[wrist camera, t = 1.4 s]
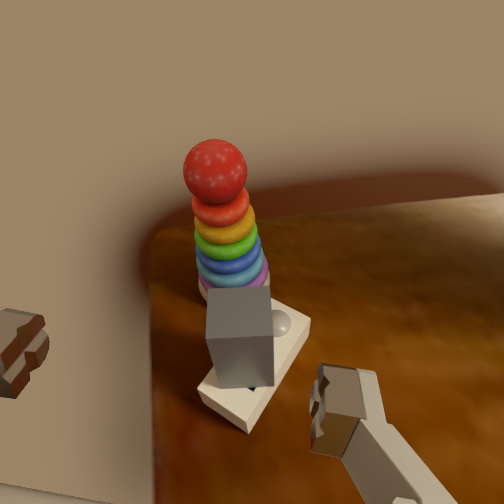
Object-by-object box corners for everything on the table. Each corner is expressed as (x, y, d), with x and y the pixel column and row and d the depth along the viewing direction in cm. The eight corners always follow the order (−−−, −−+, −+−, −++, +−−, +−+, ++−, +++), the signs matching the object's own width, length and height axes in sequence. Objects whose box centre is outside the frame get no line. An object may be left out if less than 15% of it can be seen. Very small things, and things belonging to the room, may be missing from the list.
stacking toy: (197, 264, 45) (159, 121, 31) (262, 252, 46) (256, 108, 32) (203, 321, 40) (162, 183, 26) (277, 307, 41) (276, 165, 26)
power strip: (266, 313, 40) (265, 294, 38) (308, 335, 38) (311, 317, 36) (203, 402, 35) (196, 387, 32) (248, 434, 33) (245, 421, 30)
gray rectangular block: (274, 395, 34) (273, 335, 25) (223, 398, 34) (205, 339, 25) (271, 353, 36) (269, 285, 28) (224, 355, 36) (207, 288, 28)
